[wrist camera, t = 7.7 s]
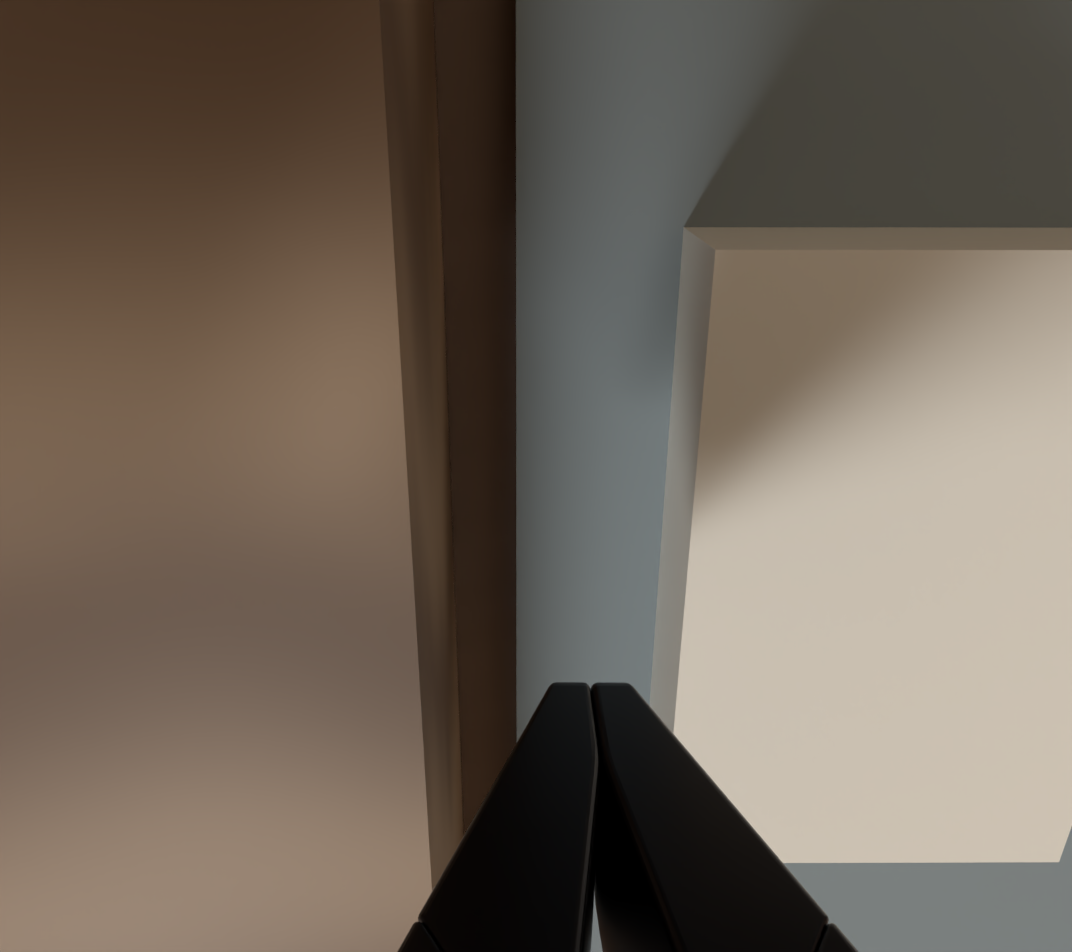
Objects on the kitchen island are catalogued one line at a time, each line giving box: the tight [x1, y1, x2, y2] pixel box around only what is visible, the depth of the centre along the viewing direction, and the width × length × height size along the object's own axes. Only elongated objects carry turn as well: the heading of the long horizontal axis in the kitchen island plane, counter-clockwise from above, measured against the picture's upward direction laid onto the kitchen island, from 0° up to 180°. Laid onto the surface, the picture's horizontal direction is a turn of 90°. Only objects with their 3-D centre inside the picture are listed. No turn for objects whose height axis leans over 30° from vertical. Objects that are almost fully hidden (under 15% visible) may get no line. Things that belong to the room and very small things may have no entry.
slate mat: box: [516, 0, 1072, 952], centre depth 13 cm, size 24×14×1 cm, turn 179°
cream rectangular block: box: [650, 227, 1072, 863], centre depth 11 cm, size 9×6×2 cm, turn 0°
